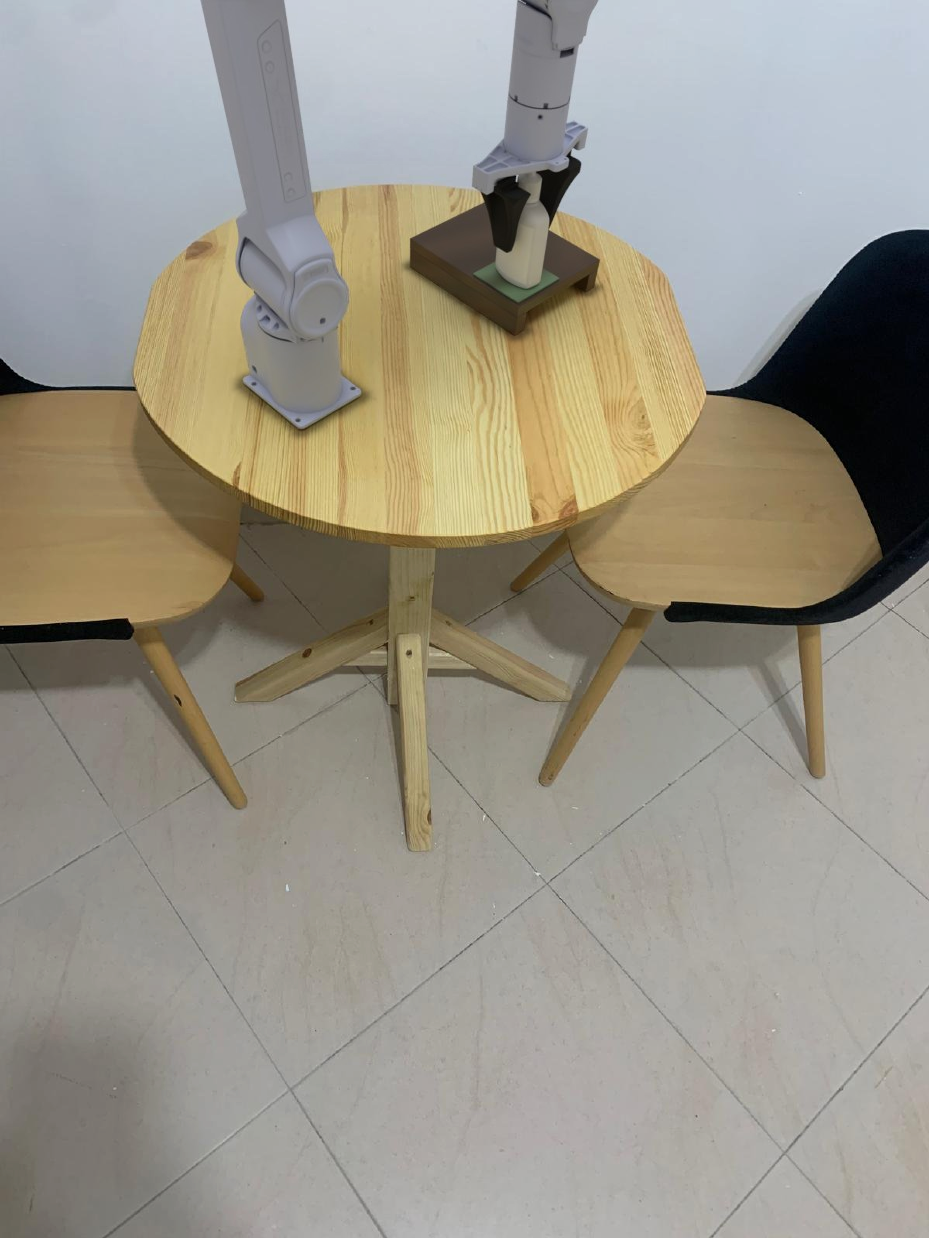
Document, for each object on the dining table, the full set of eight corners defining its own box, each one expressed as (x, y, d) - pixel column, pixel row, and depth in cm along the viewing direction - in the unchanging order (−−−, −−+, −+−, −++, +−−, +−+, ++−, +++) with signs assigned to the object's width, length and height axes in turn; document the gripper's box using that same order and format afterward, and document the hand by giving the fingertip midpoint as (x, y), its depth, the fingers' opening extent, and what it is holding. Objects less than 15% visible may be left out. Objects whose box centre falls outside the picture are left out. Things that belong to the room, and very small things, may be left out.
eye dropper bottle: (503, 292, 84) (516, 178, 74) (492, 262, 86) (503, 149, 76) (542, 290, 84) (560, 177, 74) (530, 260, 87) (546, 148, 77)
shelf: (409, 266, 91) (409, 236, 88) (490, 225, 97) (493, 196, 94) (514, 335, 85) (518, 306, 82) (594, 287, 91) (600, 258, 88)
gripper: (518, 136, 66) (501, 281, 77) (622, 89, 72) (593, 230, 83) (459, 104, 68) (452, 250, 80) (565, 62, 75) (544, 202, 86)
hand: (521, 238), depth 82 cm, fingers open, 5 cm apart
